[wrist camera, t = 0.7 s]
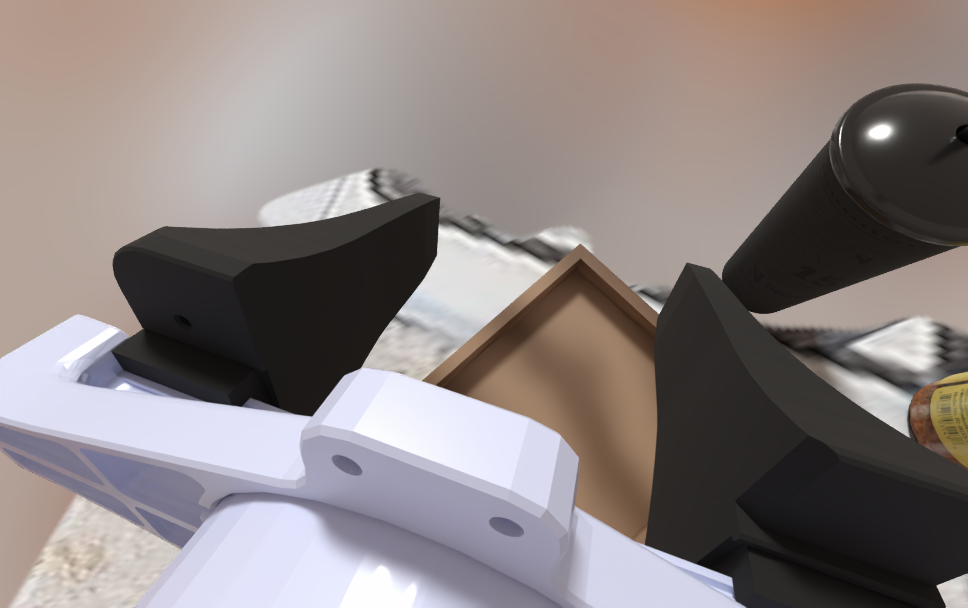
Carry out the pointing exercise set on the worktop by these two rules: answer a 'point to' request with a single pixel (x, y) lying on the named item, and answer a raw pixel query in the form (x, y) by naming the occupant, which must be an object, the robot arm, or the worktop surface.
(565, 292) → the tray
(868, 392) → the worktop surface
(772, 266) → the drinking cup
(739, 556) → the robot arm
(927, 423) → the sauce bottle
